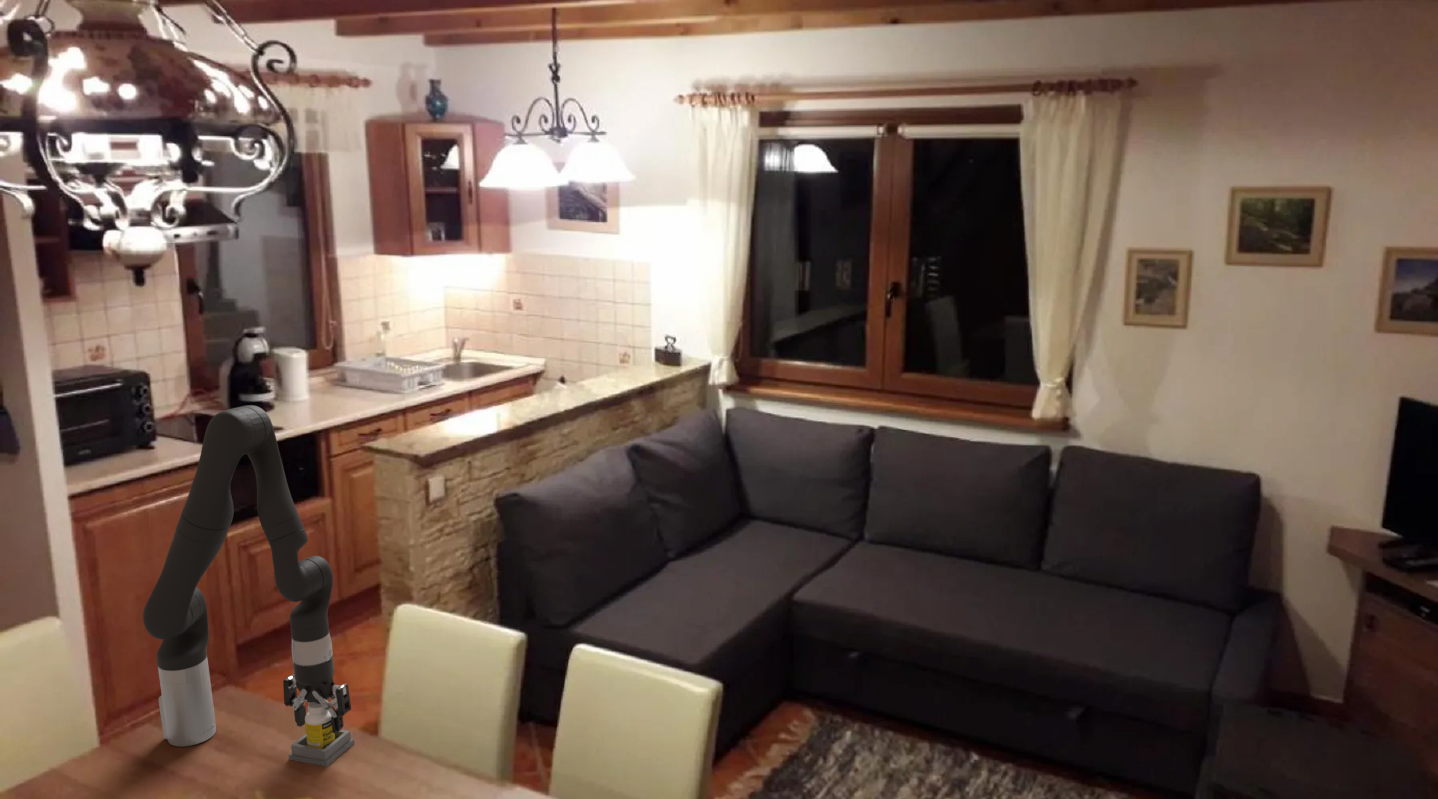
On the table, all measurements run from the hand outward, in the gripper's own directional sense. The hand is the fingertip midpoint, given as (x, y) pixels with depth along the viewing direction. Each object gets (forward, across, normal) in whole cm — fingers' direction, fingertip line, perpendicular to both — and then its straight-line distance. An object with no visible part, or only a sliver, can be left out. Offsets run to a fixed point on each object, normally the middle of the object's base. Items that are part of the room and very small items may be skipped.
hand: (319, 727), depth 218 cm
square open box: (+5, 0, 0) cm, 5 cm away
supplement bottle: (+4, 0, 0) cm, 4 cm away
